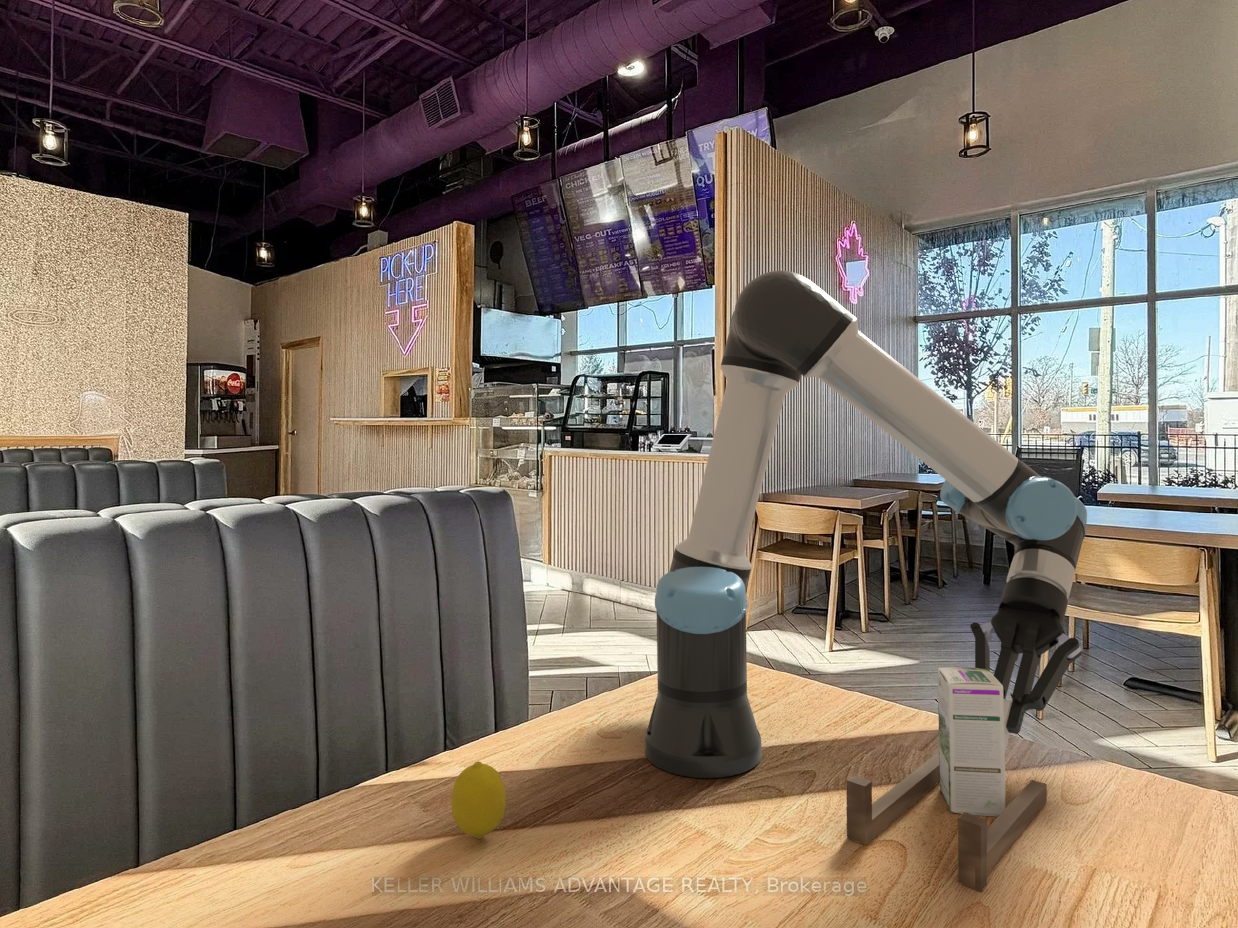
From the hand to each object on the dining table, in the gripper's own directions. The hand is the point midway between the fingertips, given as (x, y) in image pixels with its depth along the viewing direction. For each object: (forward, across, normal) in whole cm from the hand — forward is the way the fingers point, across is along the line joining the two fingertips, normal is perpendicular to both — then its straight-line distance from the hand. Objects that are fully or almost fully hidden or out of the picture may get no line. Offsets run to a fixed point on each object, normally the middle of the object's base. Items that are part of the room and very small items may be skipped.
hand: (993, 753), depth 86 cm
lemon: (+37, +34, +32) cm, 60 cm away
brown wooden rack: (+11, 0, +7) cm, 13 cm away
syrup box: (+8, 0, +3) cm, 8 cm away
